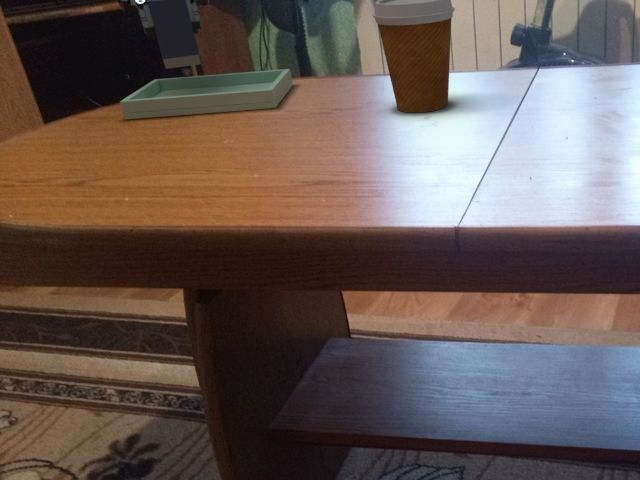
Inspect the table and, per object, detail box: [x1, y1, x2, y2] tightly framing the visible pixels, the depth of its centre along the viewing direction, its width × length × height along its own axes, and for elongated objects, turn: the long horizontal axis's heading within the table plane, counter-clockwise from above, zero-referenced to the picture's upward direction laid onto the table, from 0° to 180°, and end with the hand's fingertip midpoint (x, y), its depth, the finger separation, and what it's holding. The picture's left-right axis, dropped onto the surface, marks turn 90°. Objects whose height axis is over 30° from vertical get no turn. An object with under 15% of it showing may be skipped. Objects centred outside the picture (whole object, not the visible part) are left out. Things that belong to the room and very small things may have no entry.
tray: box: [119, 68, 294, 120], centre depth 100 cm, size 20×14×2 cm
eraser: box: [147, 0, 202, 70], centre depth 96 cm, size 6×4×8 cm
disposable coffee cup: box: [372, 0, 456, 113], centre depth 87 cm, size 10×10×12 cm
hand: (174, 31), depth 94 cm, fingers closed on eraser, 4 cm apart
